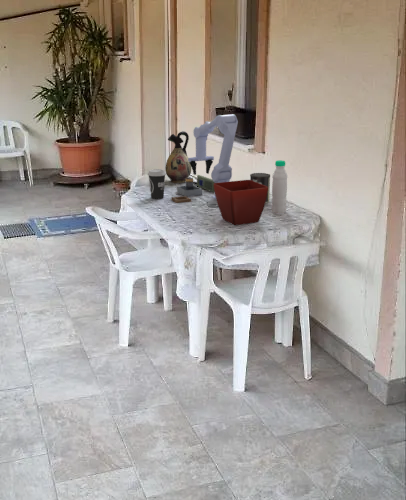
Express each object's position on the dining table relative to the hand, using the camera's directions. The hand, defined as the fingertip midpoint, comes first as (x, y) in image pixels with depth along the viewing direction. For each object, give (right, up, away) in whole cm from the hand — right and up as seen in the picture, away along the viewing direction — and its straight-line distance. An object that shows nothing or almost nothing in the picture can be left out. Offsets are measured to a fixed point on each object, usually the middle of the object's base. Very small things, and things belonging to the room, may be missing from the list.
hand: (201, 173), depth 346 cm
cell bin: (-6, -11, -3) cm, 13 cm away
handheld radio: (+2, -7, +12) cm, 14 cm away
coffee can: (+30, -17, -20) cm, 40 cm away
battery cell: (-6, -11, -3) cm, 13 cm away
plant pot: (+18, -29, -57) cm, 67 cm away
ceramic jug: (-13, -1, +30) cm, 32 cm away
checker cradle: (-10, -16, -19) cm, 27 cm away
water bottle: (+38, -24, -42) cm, 62 cm away
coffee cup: (-23, -15, -13) cm, 30 cm away
